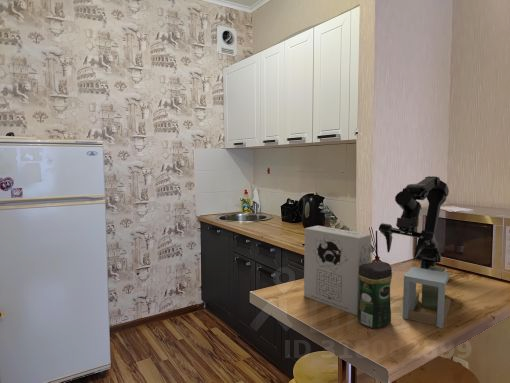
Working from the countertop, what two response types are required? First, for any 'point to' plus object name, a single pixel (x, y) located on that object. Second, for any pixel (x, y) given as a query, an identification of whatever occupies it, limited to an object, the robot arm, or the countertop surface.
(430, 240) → the robot arm
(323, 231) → the cereal box
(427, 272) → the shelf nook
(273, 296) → the countertop surface
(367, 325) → the coffee jar
